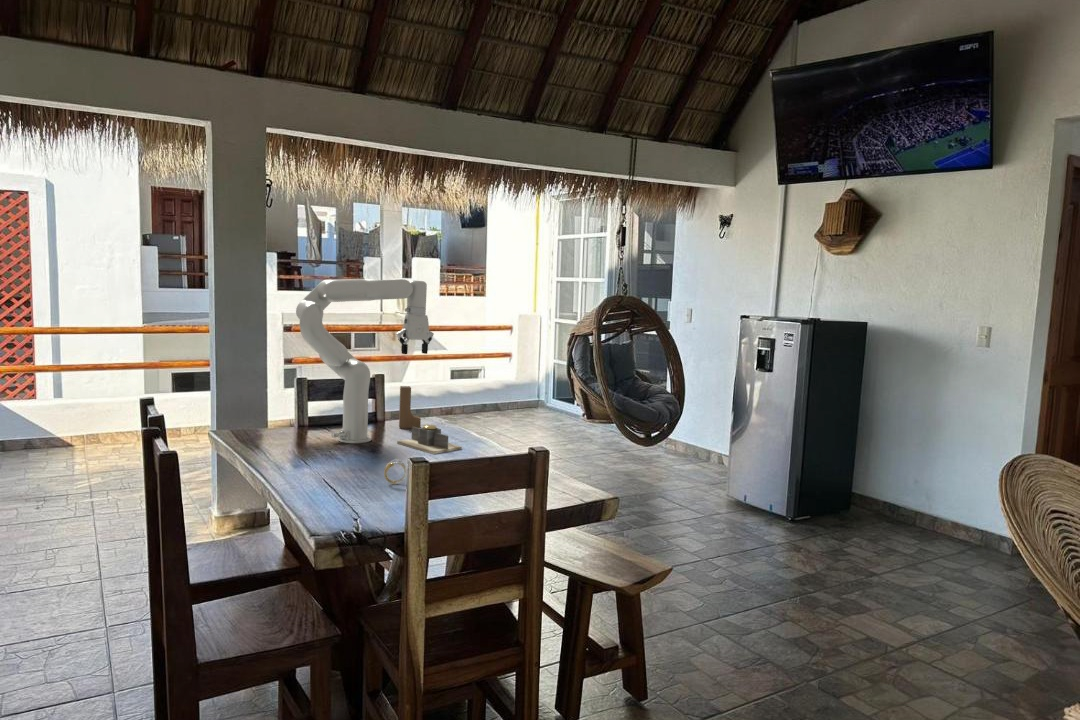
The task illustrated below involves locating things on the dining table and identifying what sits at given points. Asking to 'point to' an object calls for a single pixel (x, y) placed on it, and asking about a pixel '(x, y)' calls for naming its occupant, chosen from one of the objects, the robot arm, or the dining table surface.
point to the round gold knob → (429, 427)
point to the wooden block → (407, 410)
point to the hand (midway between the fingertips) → (414, 353)
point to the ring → (391, 466)
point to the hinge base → (429, 441)
